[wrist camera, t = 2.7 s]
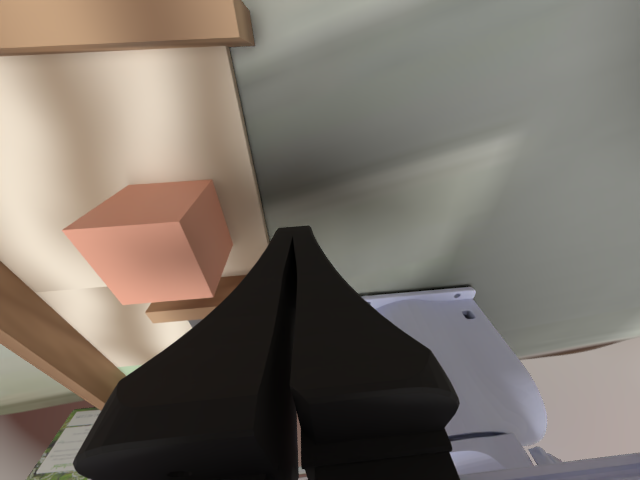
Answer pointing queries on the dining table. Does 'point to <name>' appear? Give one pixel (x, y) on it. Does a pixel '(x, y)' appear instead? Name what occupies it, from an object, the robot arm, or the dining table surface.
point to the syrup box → (65, 448)
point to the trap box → (112, 167)
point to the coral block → (156, 241)
